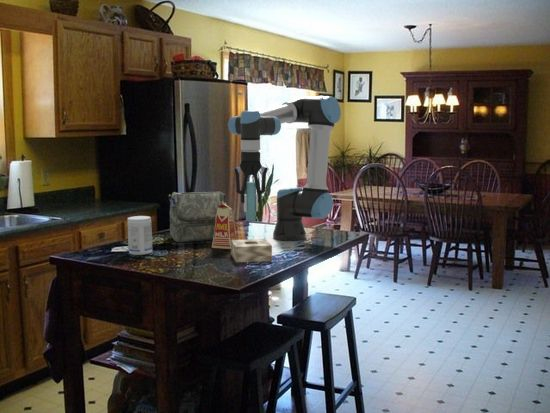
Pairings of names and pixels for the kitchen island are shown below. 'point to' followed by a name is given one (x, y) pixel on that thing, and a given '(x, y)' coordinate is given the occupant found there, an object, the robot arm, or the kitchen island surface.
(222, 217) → the milk carton
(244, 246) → the bore block
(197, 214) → the lunch bag
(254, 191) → the dowel
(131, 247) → the supplement tub
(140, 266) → the kitchen island surface
